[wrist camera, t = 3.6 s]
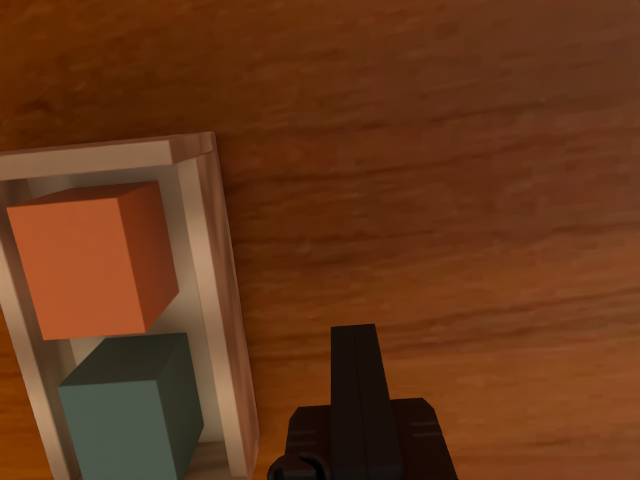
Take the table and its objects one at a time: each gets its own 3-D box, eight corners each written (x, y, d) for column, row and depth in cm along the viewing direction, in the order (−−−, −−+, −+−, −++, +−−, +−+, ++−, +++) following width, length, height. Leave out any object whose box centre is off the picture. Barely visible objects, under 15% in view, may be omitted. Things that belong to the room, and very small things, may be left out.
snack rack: (16, 149, 21) (-107, 165, 15) (215, 130, 20) (168, 139, 14) (96, 449, 25) (25, 552, 19) (261, 438, 24) (239, 540, 19)
